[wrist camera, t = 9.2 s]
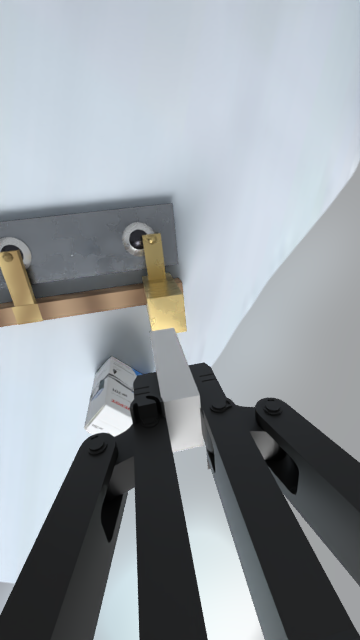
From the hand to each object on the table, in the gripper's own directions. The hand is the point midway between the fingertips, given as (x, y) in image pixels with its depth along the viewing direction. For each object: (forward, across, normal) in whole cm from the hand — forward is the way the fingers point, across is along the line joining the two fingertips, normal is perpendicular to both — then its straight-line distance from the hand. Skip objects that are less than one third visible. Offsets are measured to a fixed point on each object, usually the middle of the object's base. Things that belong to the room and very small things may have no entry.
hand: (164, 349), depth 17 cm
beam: (+25, -8, 0) cm, 26 cm away
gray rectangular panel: (+25, -8, +4) cm, 26 cm away
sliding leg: (+24, +2, -1) cm, 24 cm away
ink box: (+25, -6, -18) cm, 31 cm away
